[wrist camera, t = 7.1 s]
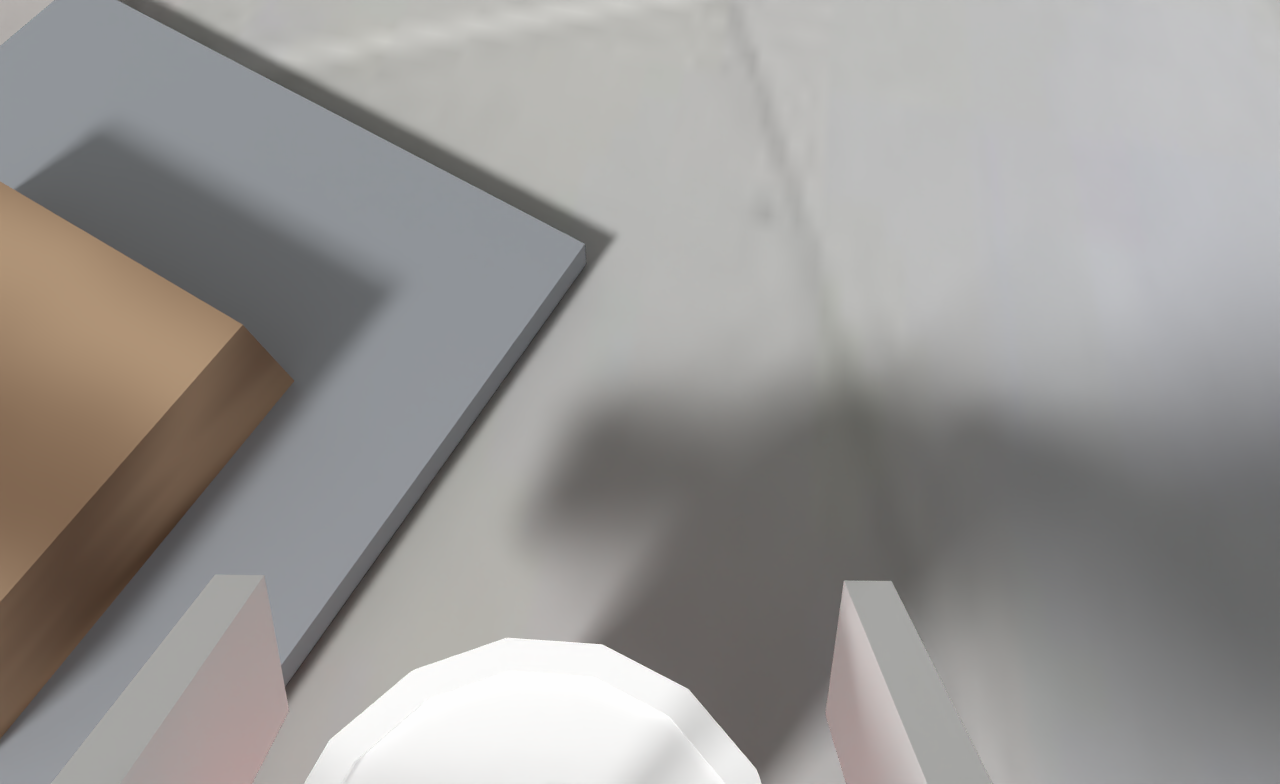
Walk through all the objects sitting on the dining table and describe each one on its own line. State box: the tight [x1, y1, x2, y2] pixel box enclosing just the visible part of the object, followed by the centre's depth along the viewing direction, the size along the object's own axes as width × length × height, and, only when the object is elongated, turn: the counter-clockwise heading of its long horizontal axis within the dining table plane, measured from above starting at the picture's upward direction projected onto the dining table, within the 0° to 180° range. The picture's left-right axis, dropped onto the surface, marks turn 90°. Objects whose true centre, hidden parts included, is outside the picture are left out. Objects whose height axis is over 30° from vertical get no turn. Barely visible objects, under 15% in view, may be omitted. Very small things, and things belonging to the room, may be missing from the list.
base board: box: [0, 0, 586, 784], centre depth 20 cm, size 24×18×1 cm
